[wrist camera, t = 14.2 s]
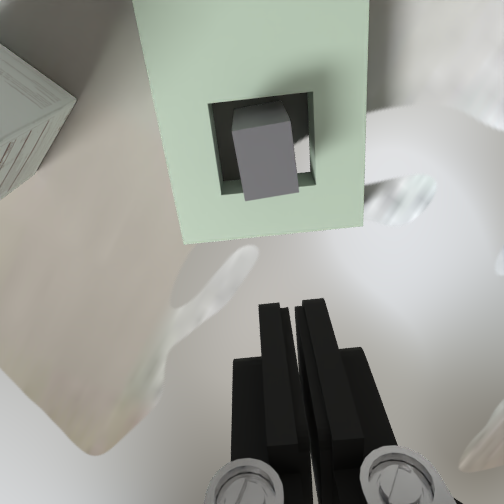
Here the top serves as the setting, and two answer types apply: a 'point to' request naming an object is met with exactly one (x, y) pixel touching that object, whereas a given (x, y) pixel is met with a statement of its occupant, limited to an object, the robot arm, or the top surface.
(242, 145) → the plug
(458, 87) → the top surface
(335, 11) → the socket plate
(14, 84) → the supplement box
